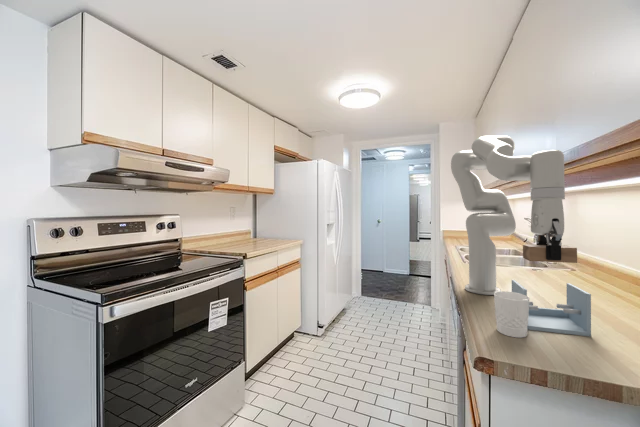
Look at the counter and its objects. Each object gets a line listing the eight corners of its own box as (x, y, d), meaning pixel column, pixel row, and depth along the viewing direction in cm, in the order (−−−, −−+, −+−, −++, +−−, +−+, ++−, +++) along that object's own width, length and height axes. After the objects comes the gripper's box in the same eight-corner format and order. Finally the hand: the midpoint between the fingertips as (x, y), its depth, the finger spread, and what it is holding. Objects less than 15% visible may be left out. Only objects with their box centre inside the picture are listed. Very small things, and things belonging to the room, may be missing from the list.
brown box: (523, 257, 83) (522, 244, 83) (566, 259, 79) (566, 245, 79) (529, 261, 78) (529, 246, 78) (577, 262, 74) (577, 247, 74)
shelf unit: (511, 314, 87) (511, 279, 87) (570, 320, 82) (569, 283, 82) (523, 328, 77) (523, 289, 77) (591, 336, 72) (590, 294, 71)
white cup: (523, 342, 69) (522, 302, 69) (489, 331, 76) (488, 294, 76) (534, 333, 74) (534, 296, 74) (501, 323, 80) (501, 289, 80)
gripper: (521, 196, 88) (522, 253, 88) (543, 193, 72) (544, 262, 72) (550, 196, 85) (551, 254, 85) (579, 192, 69) (581, 264, 69)
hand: (548, 257), depth 79 cm, fingers closed on brown box, 6 cm apart
